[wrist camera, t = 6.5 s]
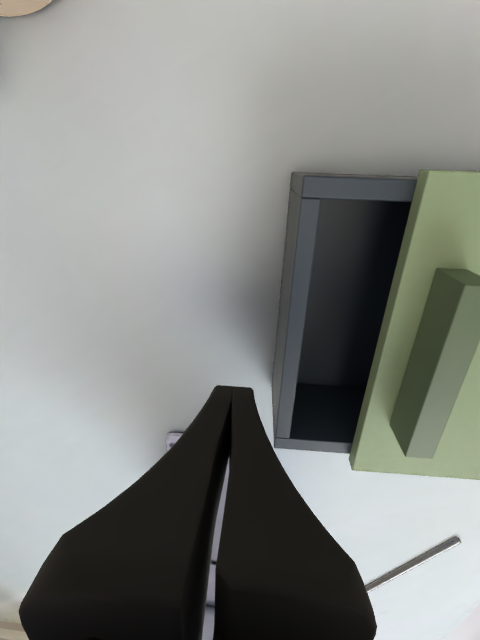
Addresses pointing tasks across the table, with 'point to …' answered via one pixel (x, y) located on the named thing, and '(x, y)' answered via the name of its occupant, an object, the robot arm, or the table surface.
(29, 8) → the teacup with lid
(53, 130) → the table surface
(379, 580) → the rod
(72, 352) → the table surface
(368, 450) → the lid
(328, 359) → the bin
